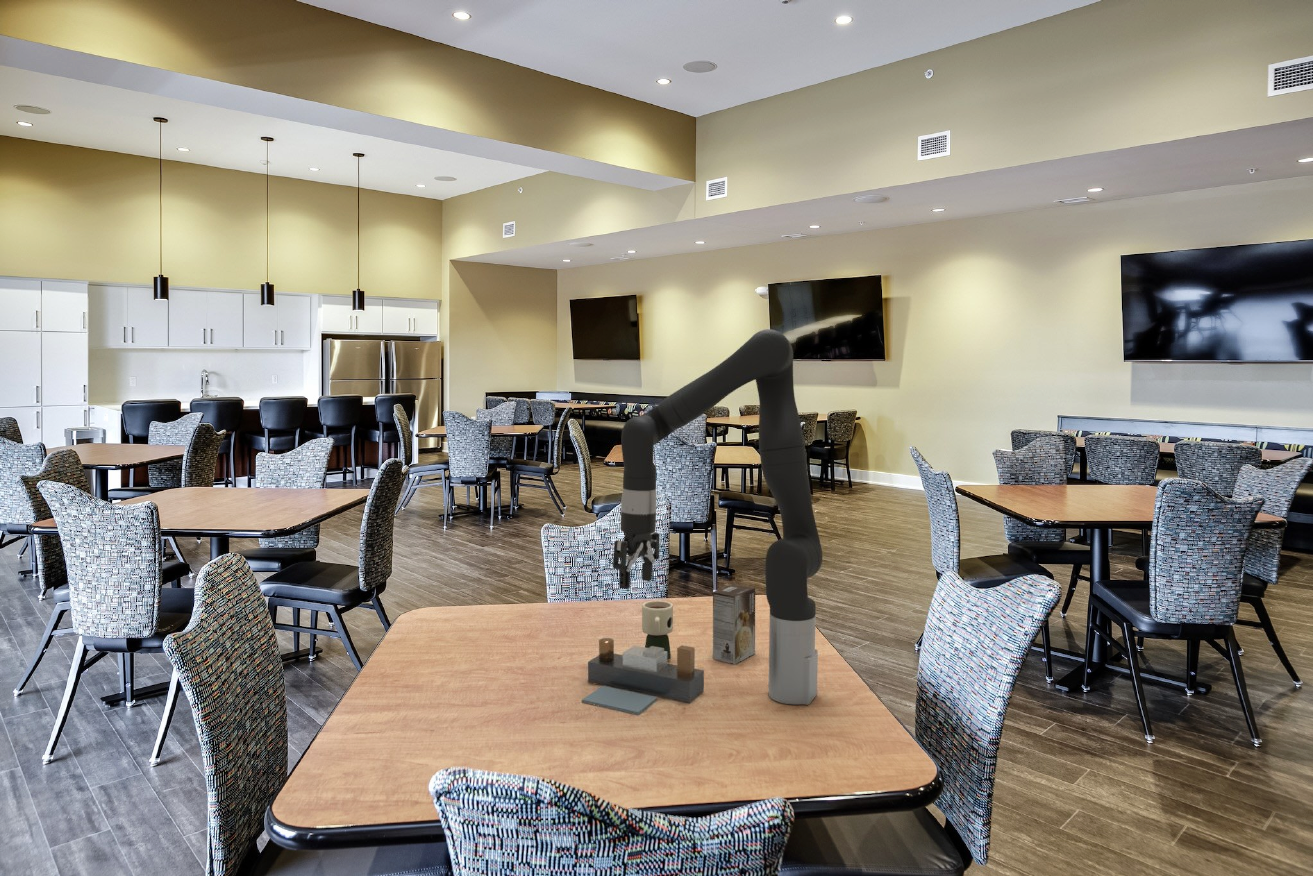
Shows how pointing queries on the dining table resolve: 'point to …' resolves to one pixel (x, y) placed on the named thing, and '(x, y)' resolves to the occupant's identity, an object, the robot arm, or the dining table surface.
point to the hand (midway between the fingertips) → (635, 584)
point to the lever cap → (645, 658)
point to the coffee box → (733, 623)
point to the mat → (620, 700)
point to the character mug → (657, 624)
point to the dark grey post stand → (648, 674)
